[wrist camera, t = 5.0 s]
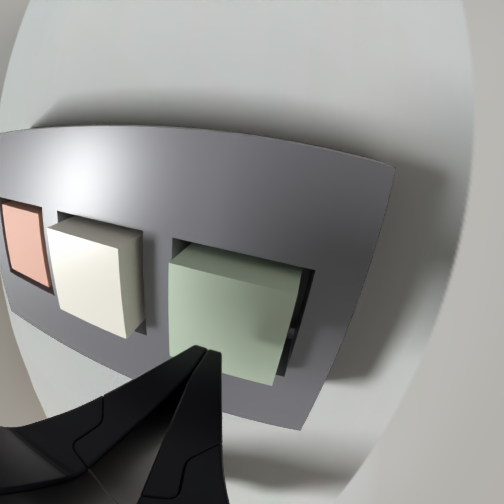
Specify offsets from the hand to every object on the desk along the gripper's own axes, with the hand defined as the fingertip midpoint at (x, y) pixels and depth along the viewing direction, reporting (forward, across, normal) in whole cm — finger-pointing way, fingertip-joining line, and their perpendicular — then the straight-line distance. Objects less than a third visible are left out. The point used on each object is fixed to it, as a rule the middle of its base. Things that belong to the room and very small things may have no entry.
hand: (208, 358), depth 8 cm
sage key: (+4, 0, 0) cm, 4 cm away
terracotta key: (+5, +12, 0) cm, 13 cm away
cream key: (+4, +6, 0) cm, 7 cm away
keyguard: (+6, +6, 0) cm, 8 cm away
